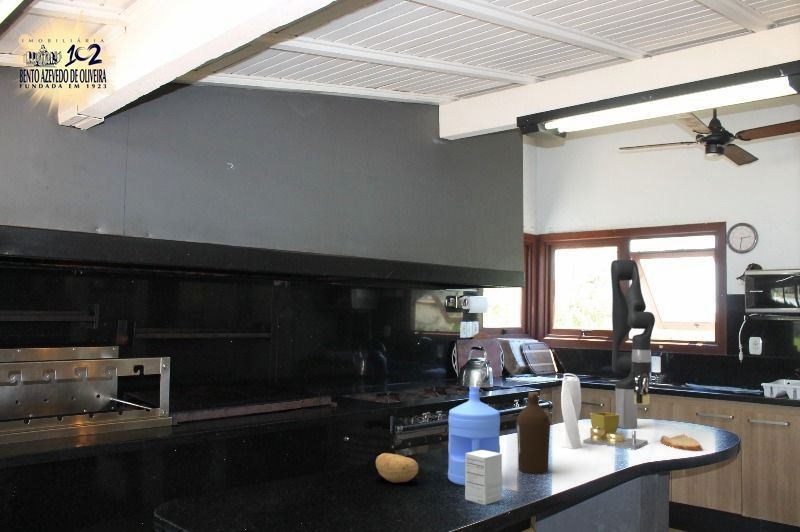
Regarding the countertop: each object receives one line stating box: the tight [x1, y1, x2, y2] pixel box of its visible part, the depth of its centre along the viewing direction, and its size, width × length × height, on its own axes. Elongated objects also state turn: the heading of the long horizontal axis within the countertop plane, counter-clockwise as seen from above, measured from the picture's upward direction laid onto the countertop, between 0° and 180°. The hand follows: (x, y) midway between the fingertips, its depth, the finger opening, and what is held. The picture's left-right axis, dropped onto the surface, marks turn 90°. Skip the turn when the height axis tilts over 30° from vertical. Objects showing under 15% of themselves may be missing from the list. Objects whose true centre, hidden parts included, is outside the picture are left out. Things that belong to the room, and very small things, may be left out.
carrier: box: [583, 427, 648, 450], centre depth 275 cm, size 16×20×6 cm
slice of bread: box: [660, 434, 703, 452], centre depth 273 cm, size 18×18×4 cm
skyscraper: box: [560, 372, 582, 450], centre depth 267 cm, size 8×8×28 cm
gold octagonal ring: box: [634, 393, 651, 406], centre depth 285 cm, size 6×6×4 cm
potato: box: [375, 452, 419, 483], centre depth 209 cm, size 10×14×8 cm
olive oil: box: [516, 391, 551, 475], centre depth 227 cm, size 11×11×25 cm
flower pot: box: [589, 411, 619, 435], centre depth 292 cm, size 9×9×9 cm
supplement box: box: [464, 450, 503, 506], centre depth 191 cm, size 7×7×13 cm
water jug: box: [447, 386, 501, 487], centre depth 213 cm, size 16×16×28 cm
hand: (641, 402), depth 285 cm, fingers closed on gold octagonal ring, 5 cm apart
